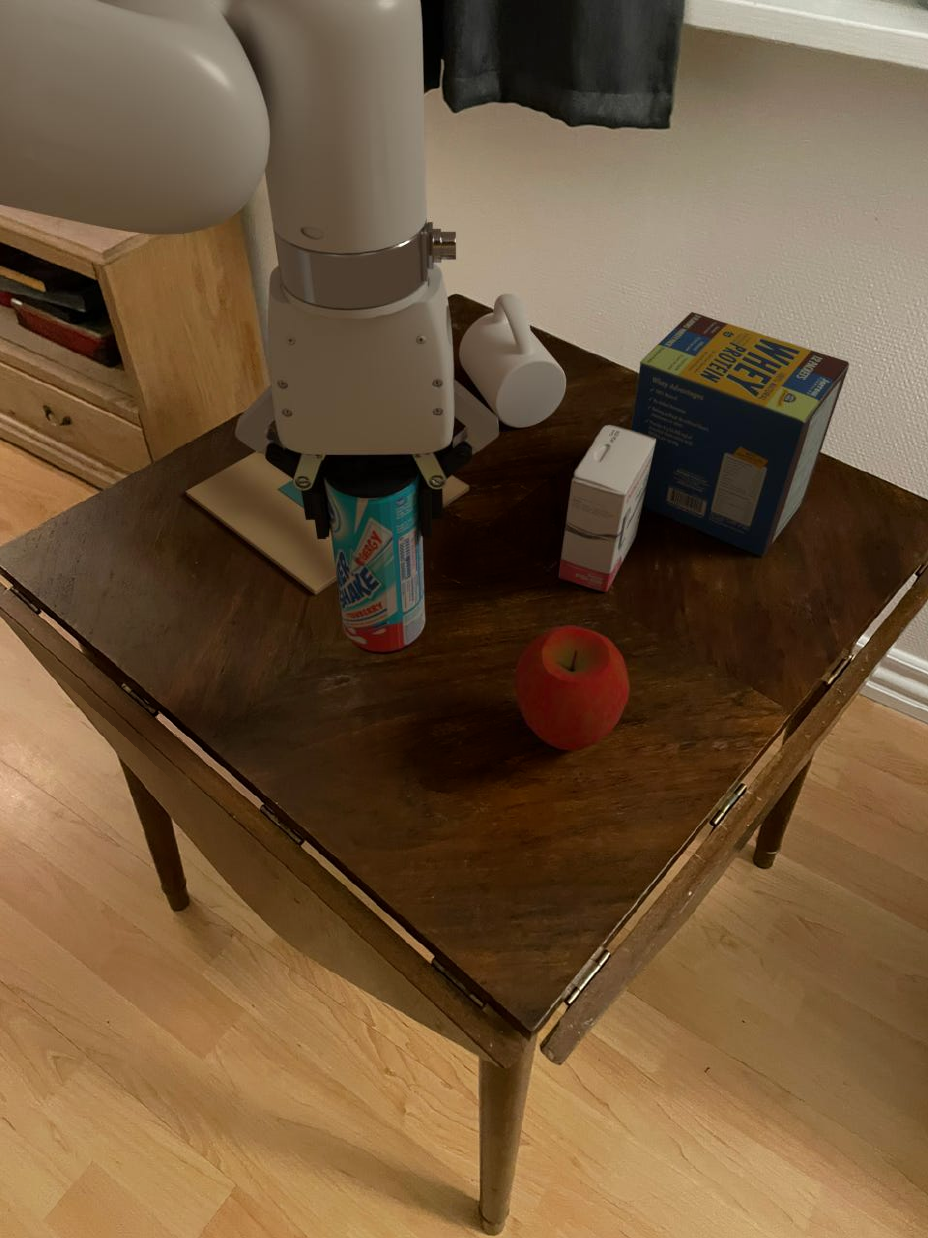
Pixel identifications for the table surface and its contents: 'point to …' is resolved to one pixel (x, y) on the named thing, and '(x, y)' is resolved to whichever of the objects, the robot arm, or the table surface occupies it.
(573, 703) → the apple
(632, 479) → the ink box
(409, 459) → the beverage can
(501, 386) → the mug
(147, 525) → the table surface
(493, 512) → the table surface
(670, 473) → the protein box
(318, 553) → the cork mat
